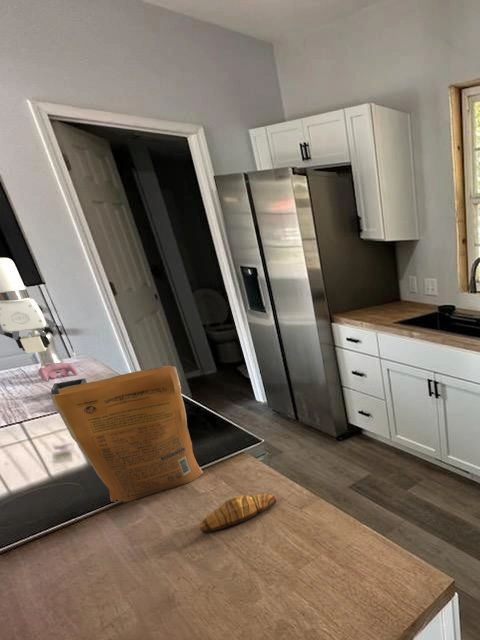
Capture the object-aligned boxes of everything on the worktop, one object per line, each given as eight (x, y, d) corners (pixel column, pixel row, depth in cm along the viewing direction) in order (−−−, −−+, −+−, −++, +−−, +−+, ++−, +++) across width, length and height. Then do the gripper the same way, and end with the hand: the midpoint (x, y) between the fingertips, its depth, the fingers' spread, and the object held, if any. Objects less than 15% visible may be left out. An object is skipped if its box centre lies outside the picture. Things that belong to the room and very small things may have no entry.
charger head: (26, 353, 141) (18, 336, 139) (29, 350, 145) (21, 333, 143) (45, 350, 144) (37, 333, 142) (47, 347, 148) (39, 330, 146)
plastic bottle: (44, 372, 169) (23, 324, 162) (68, 368, 173) (48, 322, 166) (43, 376, 165) (21, 327, 157) (67, 372, 169) (47, 324, 162)
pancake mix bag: (212, 479, 97) (175, 367, 86) (102, 514, 85) (45, 390, 75) (208, 467, 101) (173, 359, 91) (103, 499, 90) (50, 380, 80)
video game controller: (78, 376, 168) (69, 361, 167) (79, 373, 165) (70, 357, 165) (43, 384, 160) (34, 368, 159) (44, 381, 157) (35, 364, 157)
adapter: (54, 398, 143) (50, 390, 142) (57, 391, 150) (54, 383, 148) (86, 392, 148) (83, 385, 147) (88, 385, 154) (85, 378, 153)
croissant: (205, 543, 77) (197, 522, 75) (198, 526, 81) (190, 505, 80) (282, 510, 86) (277, 490, 84) (272, 496, 90) (267, 477, 88)
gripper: (-31, 301, 130) (-3, 356, 137) (46, 294, 140) (69, 345, 147) (-25, 298, 135) (2, 351, 142) (49, 291, 145) (70, 341, 152)
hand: (36, 347), depth 144 cm, fingers closed on charger head, 4 cm apart
